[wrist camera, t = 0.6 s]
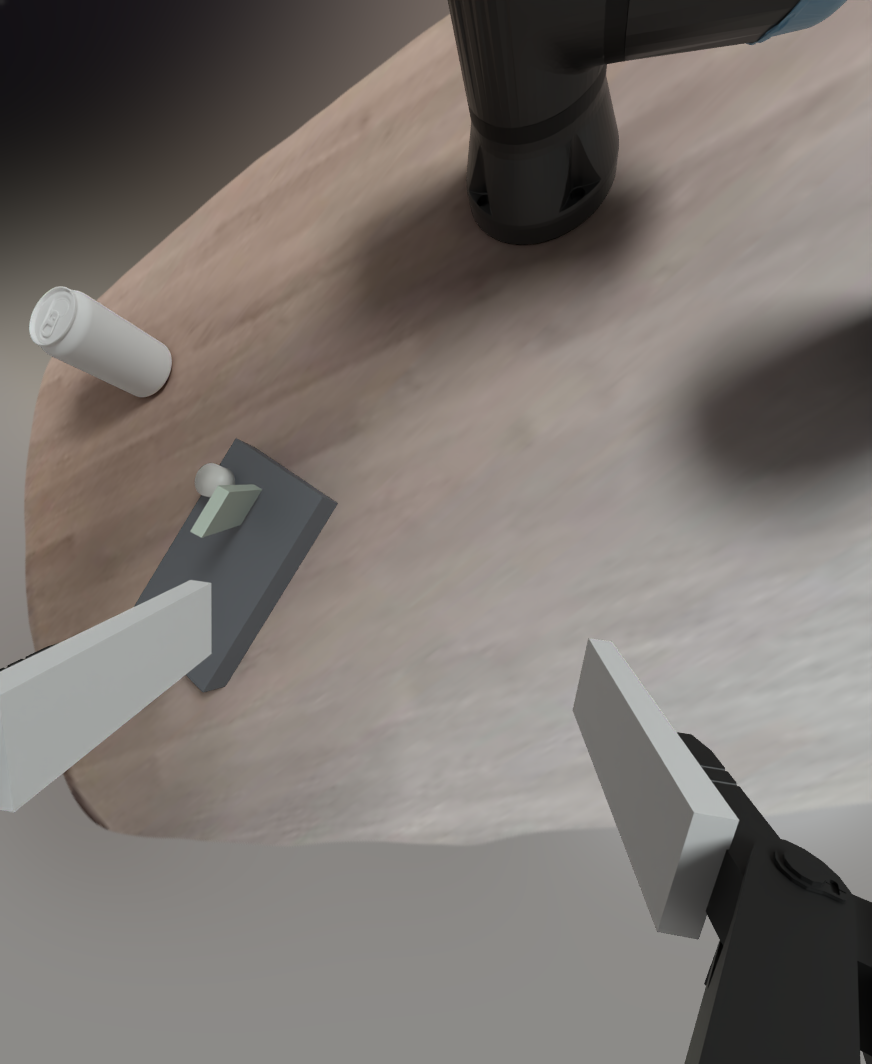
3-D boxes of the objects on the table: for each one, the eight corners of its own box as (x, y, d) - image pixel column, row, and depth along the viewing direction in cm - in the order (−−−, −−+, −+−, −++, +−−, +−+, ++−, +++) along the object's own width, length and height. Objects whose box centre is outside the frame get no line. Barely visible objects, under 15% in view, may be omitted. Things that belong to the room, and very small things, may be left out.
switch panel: (254, 447, 49) (235, 438, 47) (337, 503, 45) (322, 496, 42) (153, 614, 50) (128, 615, 47) (225, 686, 46) (202, 692, 43)
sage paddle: (253, 484, 43) (217, 485, 33) (262, 489, 43) (229, 491, 33) (231, 519, 43) (190, 531, 33) (240, 524, 43) (201, 537, 33)
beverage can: (185, 354, 55) (88, 291, 44) (158, 407, 55) (54, 358, 44) (148, 338, 58) (48, 274, 47) (122, 388, 58) (15, 338, 47)
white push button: (219, 462, 46) (206, 457, 44) (240, 477, 45) (227, 472, 43) (203, 489, 46) (189, 485, 44) (223, 505, 45) (209, 501, 43)
